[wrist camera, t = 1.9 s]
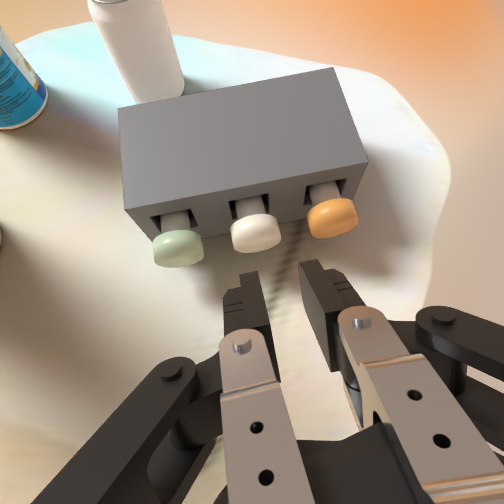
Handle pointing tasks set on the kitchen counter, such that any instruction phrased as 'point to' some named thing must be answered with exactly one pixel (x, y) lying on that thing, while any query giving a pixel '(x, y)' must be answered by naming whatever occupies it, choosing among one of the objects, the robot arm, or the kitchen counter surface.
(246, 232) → the button cream
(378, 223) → the kitchen counter surface
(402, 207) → the kitchen counter surface
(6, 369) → the kitchen counter surface
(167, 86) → the can
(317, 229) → the button orange
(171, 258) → the button green
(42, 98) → the beverage bottle
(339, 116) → the control box
